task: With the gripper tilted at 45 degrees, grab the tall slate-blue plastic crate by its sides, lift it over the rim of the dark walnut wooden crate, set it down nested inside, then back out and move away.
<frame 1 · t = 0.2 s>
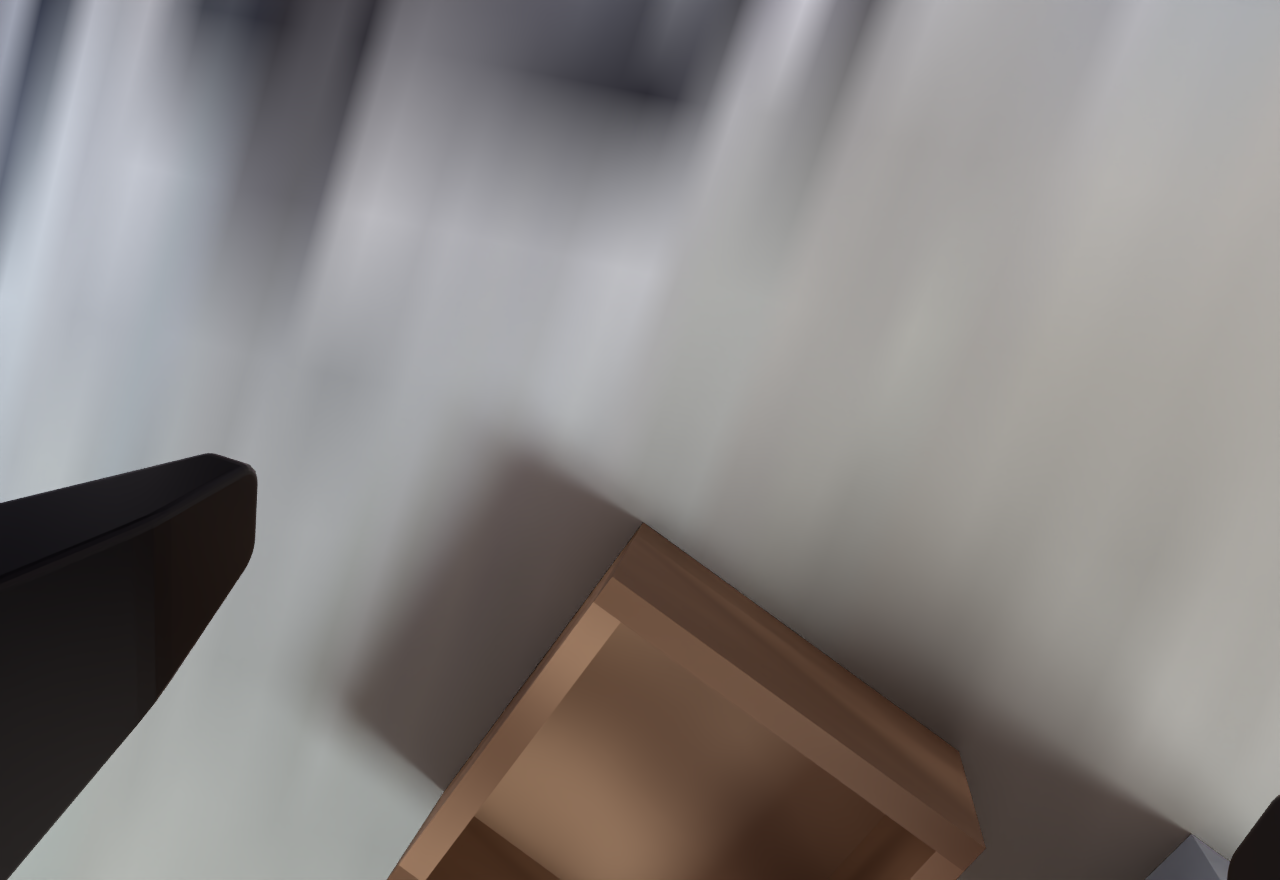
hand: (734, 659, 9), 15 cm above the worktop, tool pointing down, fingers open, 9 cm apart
wooden crate: (688, 772, 26), on the worktop
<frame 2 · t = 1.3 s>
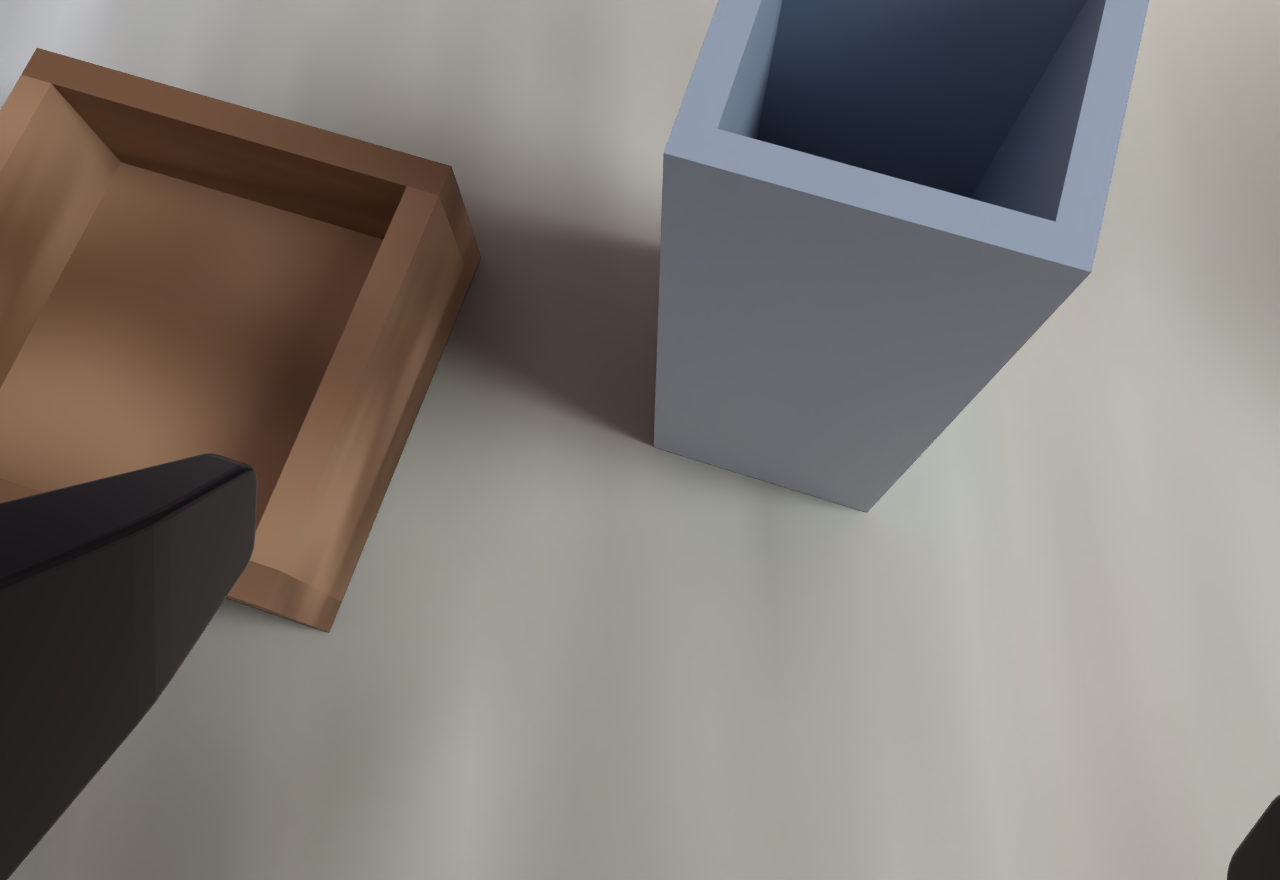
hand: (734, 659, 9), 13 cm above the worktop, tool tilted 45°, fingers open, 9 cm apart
small plastic crate: (788, 380, 24), on the worktop
wooden crate: (220, 375, 24), on the worktop
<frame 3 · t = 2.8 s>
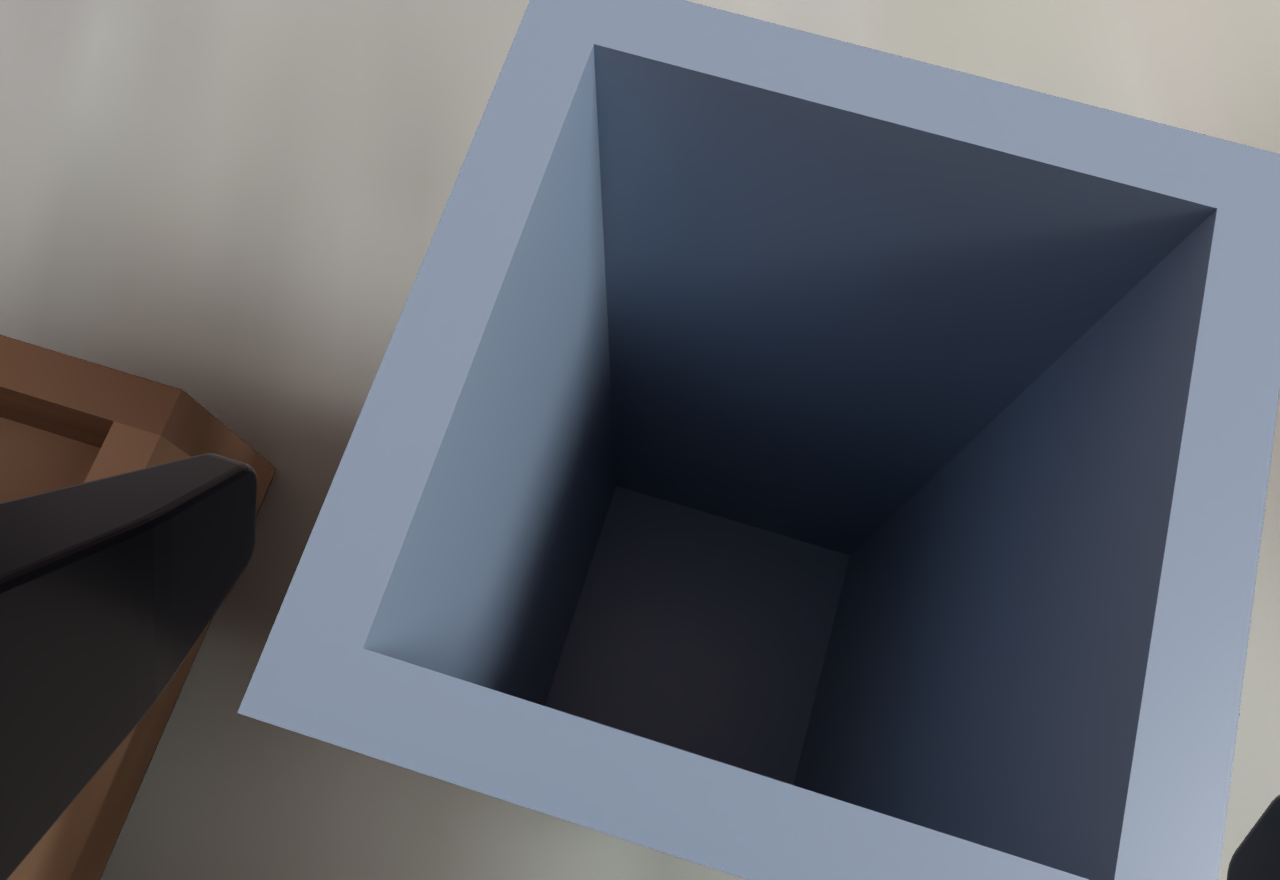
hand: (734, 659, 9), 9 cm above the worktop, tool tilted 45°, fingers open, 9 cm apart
small plastic crate: (694, 644, 17), on the worktop
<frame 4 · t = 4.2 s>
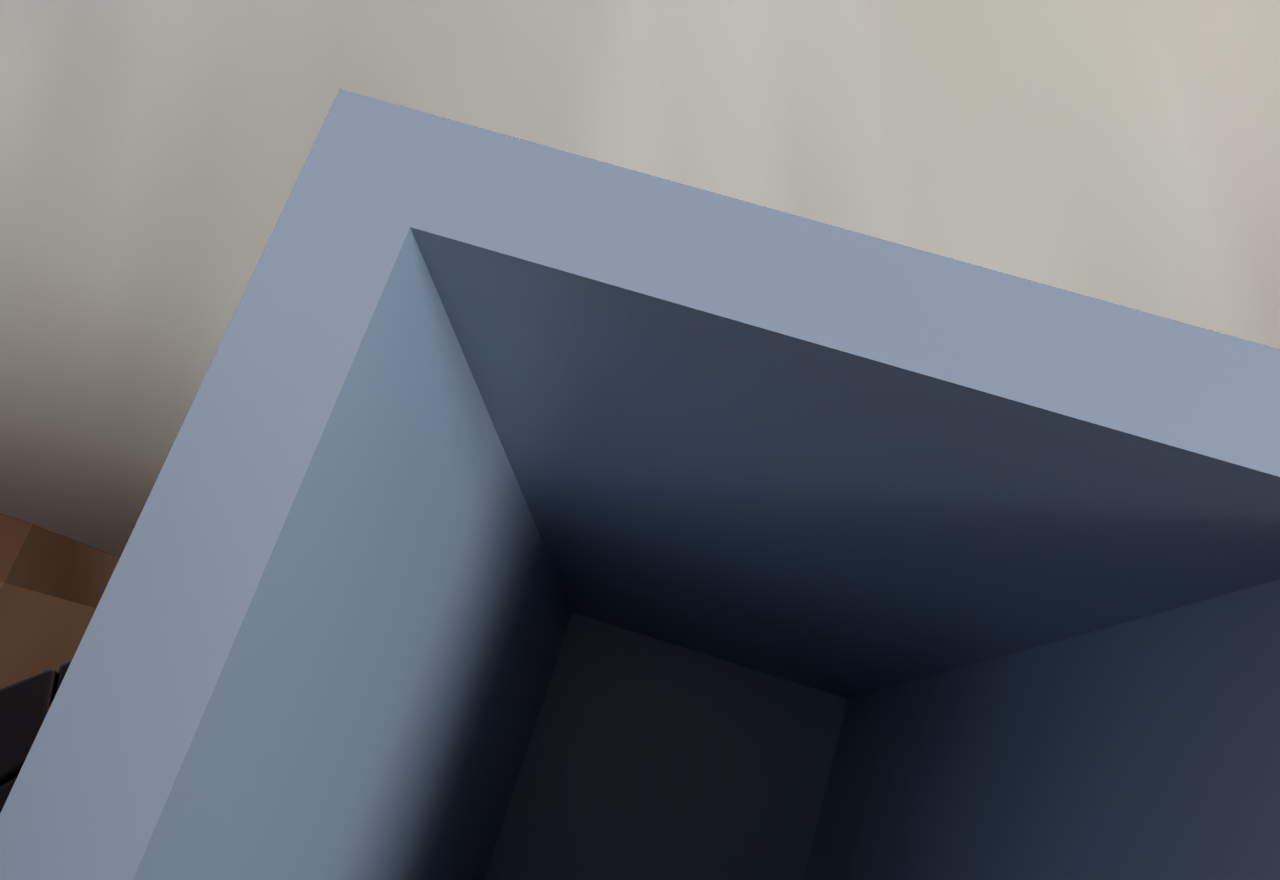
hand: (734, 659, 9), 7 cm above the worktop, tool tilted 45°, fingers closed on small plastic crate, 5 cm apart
small plastic crate: (664, 797, 15), on the worktop, touching gripper
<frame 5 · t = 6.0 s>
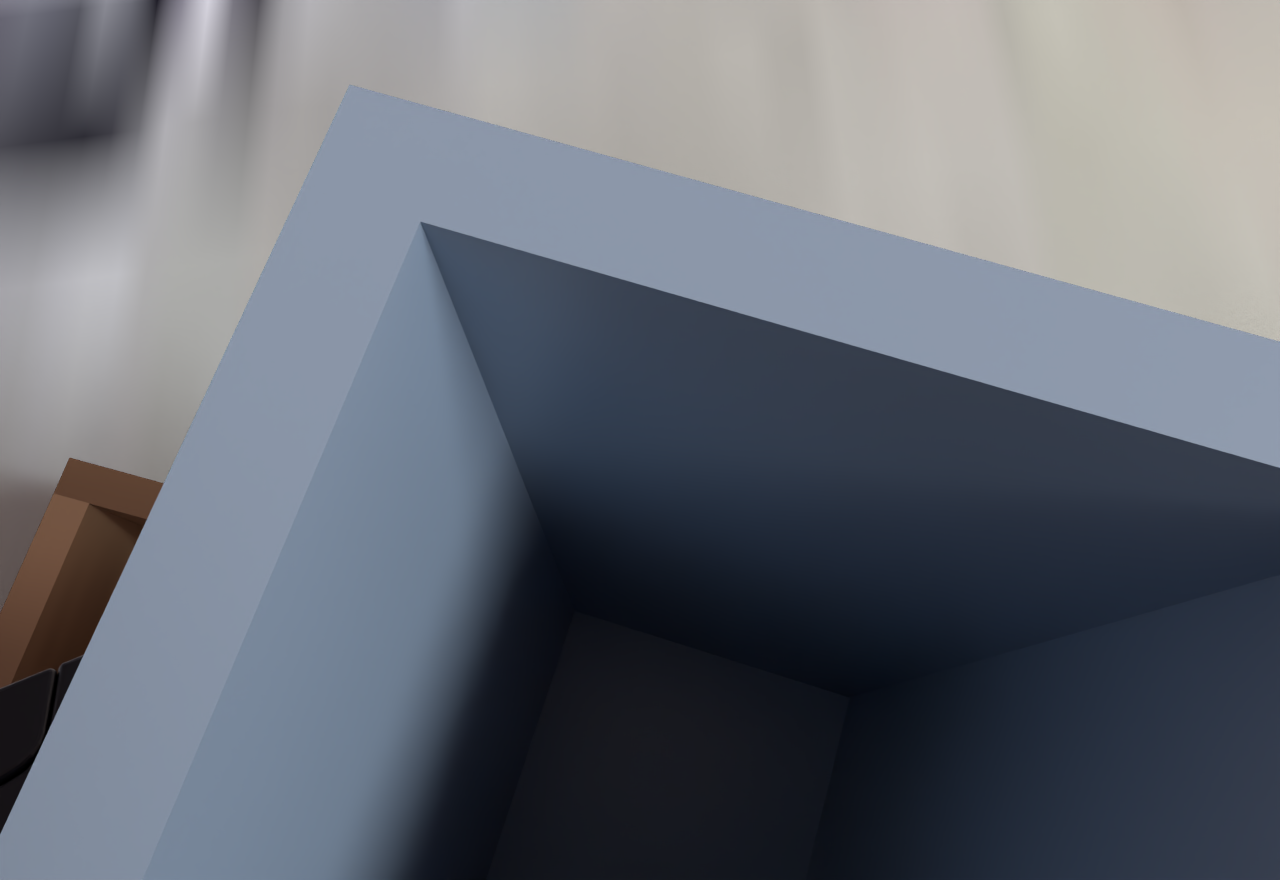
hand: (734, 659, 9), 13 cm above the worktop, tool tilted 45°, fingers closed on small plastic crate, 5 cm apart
small plastic crate: (666, 795, 15), point 7 cm above the worktop, touching gripper
wooden crate: (289, 780, 21), on the worktop
when the fingers open (9 cm above the worktop, at t = 8.0 s): small plastic crate drops 1 cm, resting on wooden crate.
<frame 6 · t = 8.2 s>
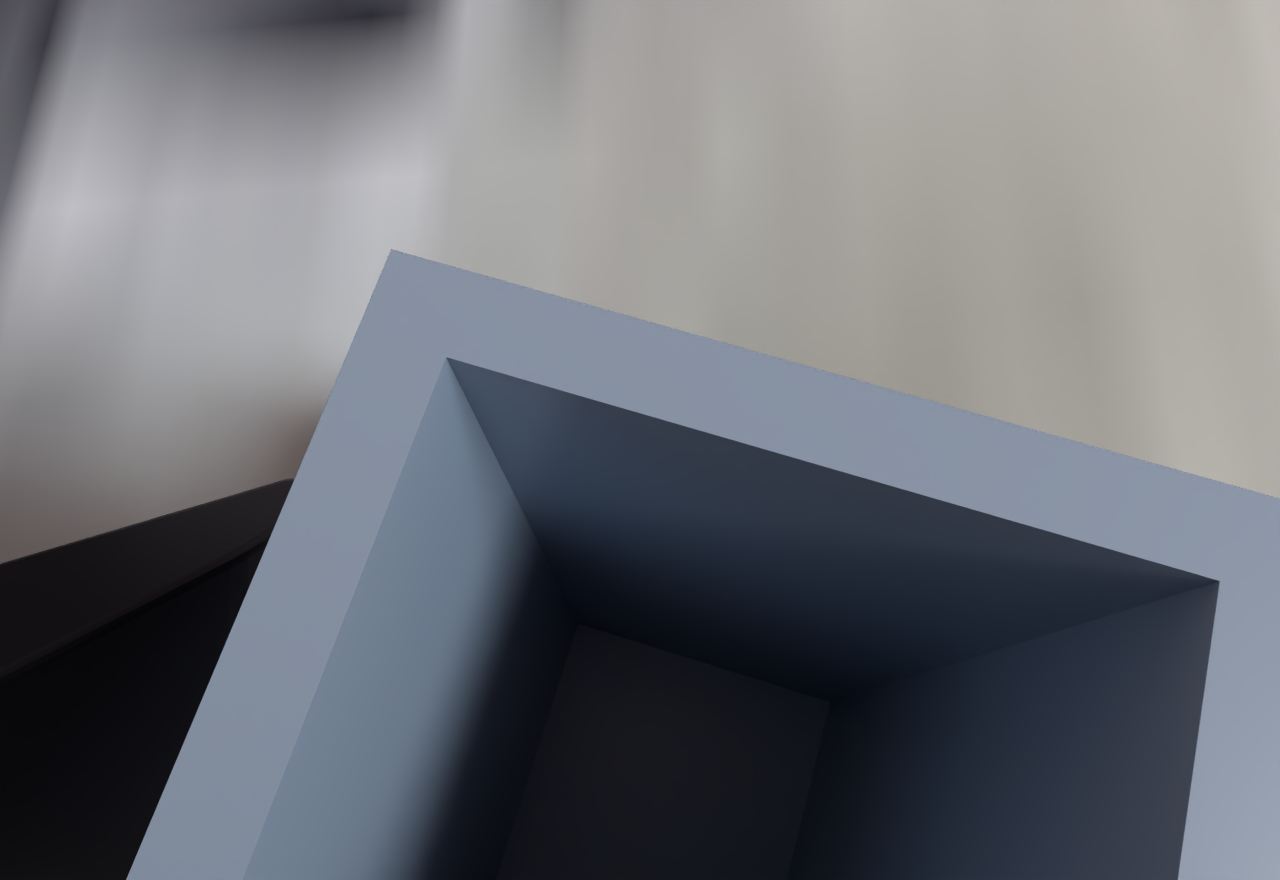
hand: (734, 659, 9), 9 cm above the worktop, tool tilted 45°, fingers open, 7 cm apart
small plastic crate: (663, 792, 16), point 1 cm above the worktop, touching wooden crate
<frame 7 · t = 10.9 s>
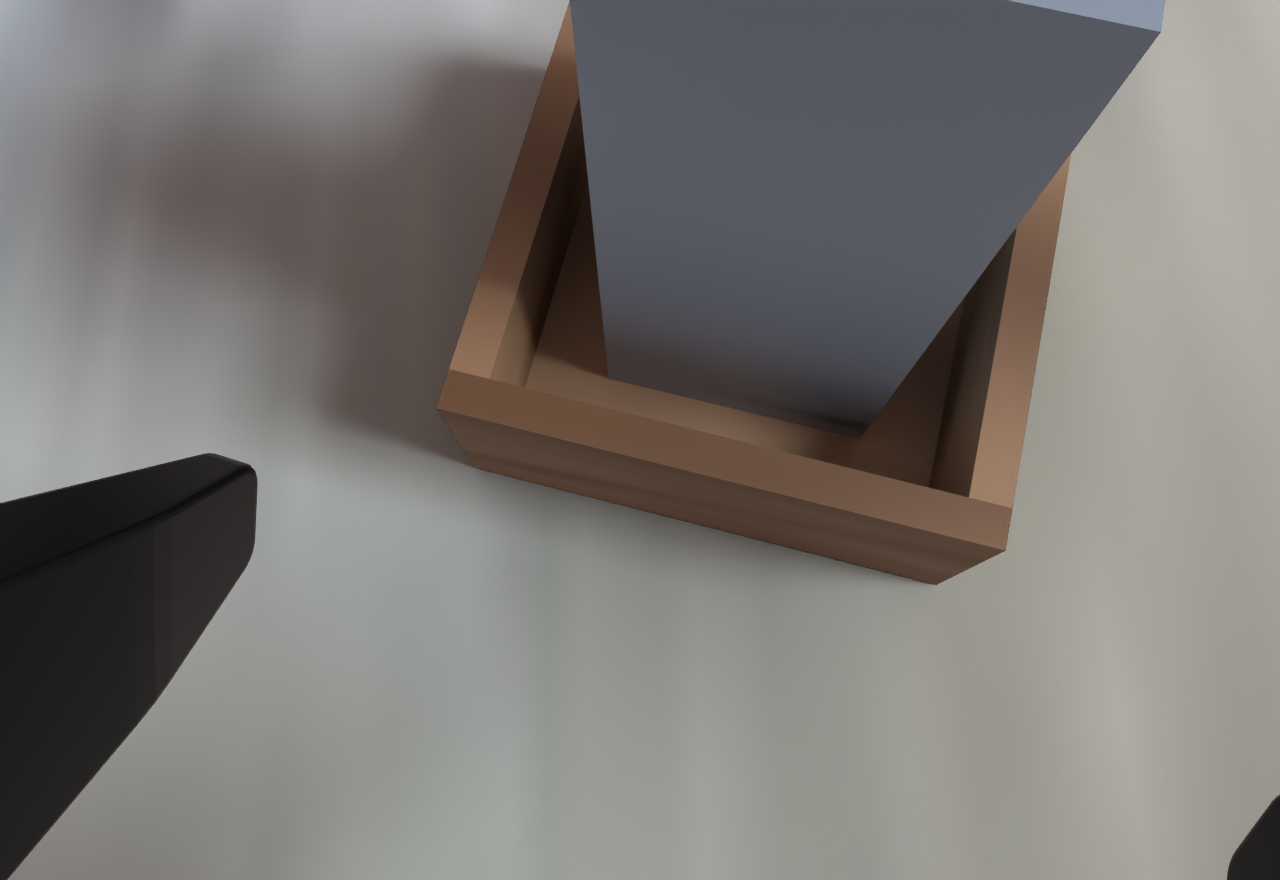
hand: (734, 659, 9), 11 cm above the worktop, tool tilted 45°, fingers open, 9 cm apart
small plastic crate: (760, 293, 21), point 1 cm above the worktop, touching wooden crate
wooden crate: (754, 311, 22), on the worktop
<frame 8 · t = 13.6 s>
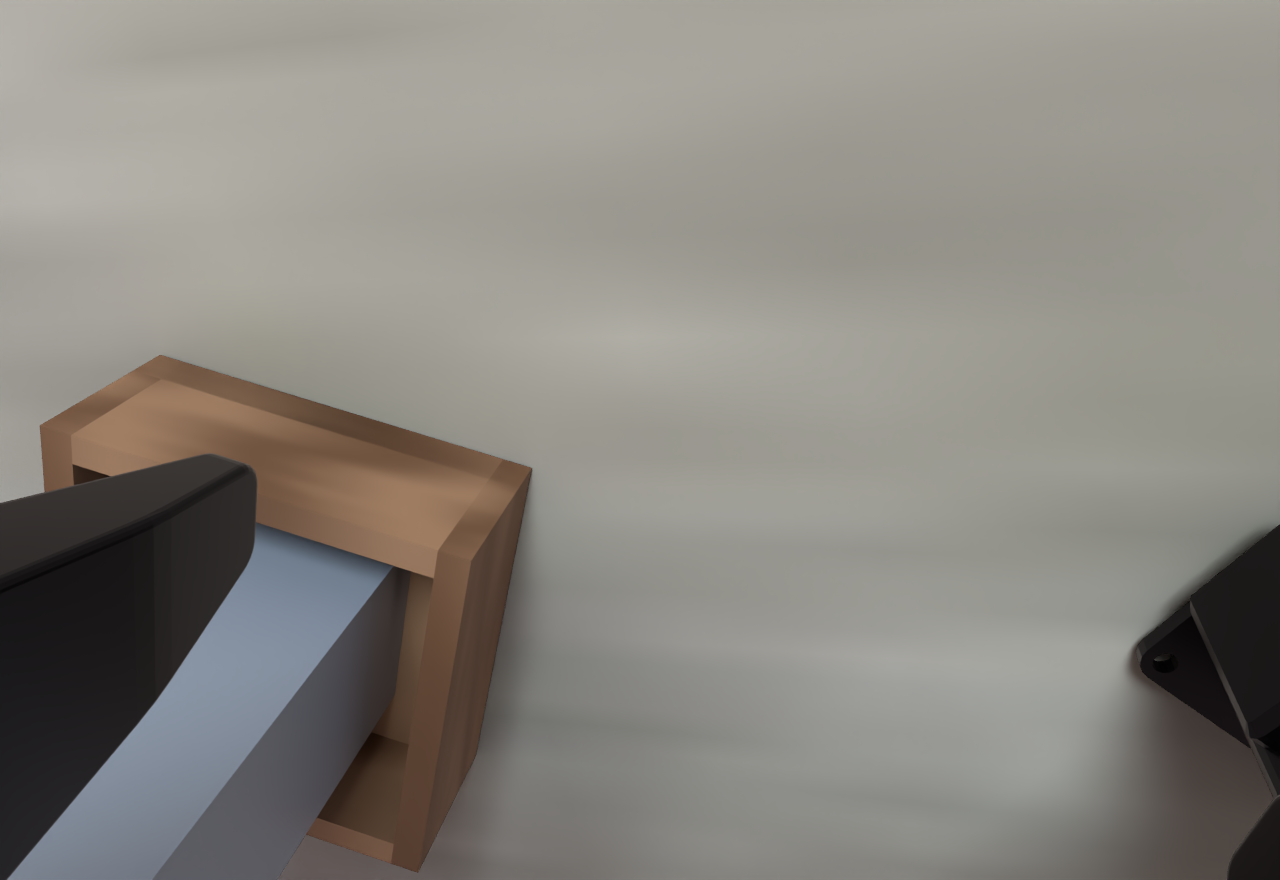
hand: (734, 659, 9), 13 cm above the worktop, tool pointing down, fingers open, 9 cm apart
small plastic crate: (310, 590, 26), point 1 cm above the worktop, touching wooden crate
wooden crate: (328, 569, 26), on the worktop
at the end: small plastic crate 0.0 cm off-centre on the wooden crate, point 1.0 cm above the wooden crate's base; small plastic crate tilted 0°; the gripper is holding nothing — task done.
